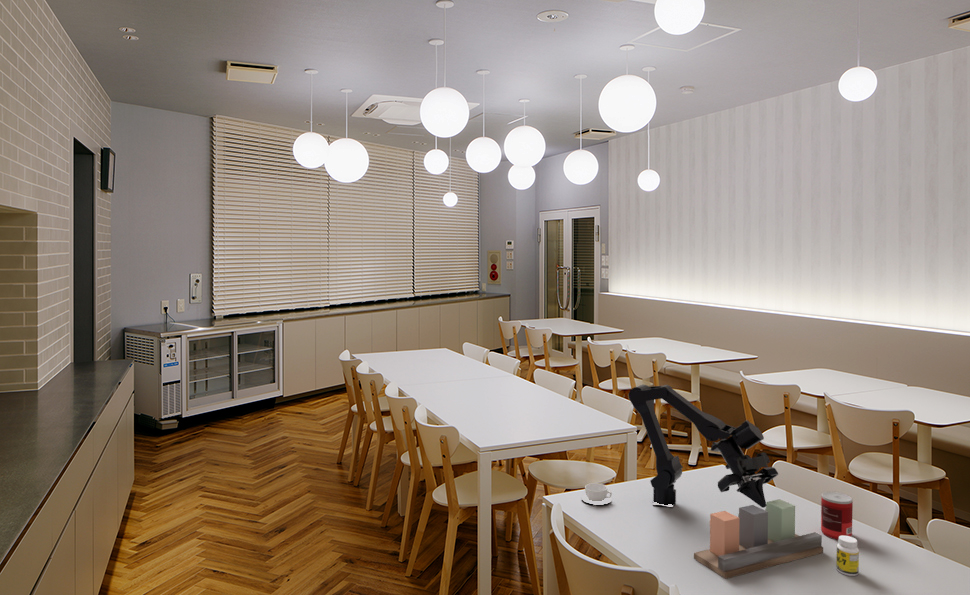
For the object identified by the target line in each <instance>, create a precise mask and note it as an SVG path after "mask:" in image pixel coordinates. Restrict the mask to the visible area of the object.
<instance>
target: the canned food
mask: <svg viewBox="0 0 970 595" xmlns="http://www.w3.org/2000/svg"><path fill="white" fill-rule="evenodd" d="M853 502H854V501H853V498H852V497H851V496H850V495H847V494H845V493H842V492H838V491H837V492H836V491H824V492H822V493H821V500H820V505H821V506H820V508H821V510H820V512H821V514H820V517H821V518H820V520H821V521H820V530H821V532H822V534H823V535H824V536H826V537H828V538H830V539H834V540H837V541H838V540H839V536H842V535H844V536H850V537H853V508H854V507H853Z"/></svg>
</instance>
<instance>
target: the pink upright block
mask: <svg viewBox="0 0 970 595" xmlns="http://www.w3.org/2000/svg"><path fill="white" fill-rule="evenodd" d="M709 549H710V551H711V552H712V553H714V554H716V555H718V556H721V555H725V554H729V553H733V552H737V551H739V517H738V516H736V515H734V514H732V513H730V512H728V511H726V510H722V511H717V512H713V513H710V514H709Z"/></svg>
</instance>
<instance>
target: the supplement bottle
mask: <svg viewBox="0 0 970 595" xmlns="http://www.w3.org/2000/svg"><path fill="white" fill-rule="evenodd" d="M837 541H838V543H837V545H836V556H835V558H836V564H835V566H836V570H837V571H838V573H840V574H843V575H845V576H848V577H854V576H855V577H856V576H858V575H859V572H860V571H859V565H860V562H859V560H860V559H859V558H860V550H859V548H858V540H857V539H856V538H854V537H853V536H851V537H850V536H844V535H842V536H839V540H838V539H837Z"/></svg>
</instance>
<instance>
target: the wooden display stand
mask: <svg viewBox="0 0 970 595" xmlns="http://www.w3.org/2000/svg"><path fill="white" fill-rule="evenodd" d="M822 537H823V536H822V534H820V533H818V532H809V533H805V534H802V535H798V534H797V533H795V537H794V538H789V539H785V540H781V541H777V542H774V541H772V540H770V539H768V544H765V545H761V546H757V547H753V548H749V549H747V548H745V547H743V546H741V545H739V551H737V552H733V553H729V554H725V555H721V556H718V555H716V554H714V553H712V552H711V551H710V548H709V549H705V550H699V551H696V552H693V559H694V560H695V559H696V560H695V561H697V562H698V563H700V564H702V565H703V566H704V567H706V568H708V569H710V570H711V571H713V572H714V573H716V574H718V575H719V576H721V577H722V578H724V579H725V580H726V579H729V578H733V577H737V576H741V575H744V574H748V573H752V572H755V571H759V570H763V569H767V568H772V567H774V566H778V565H781V564H784V563H785V564H786V563H789V562H794V561H796V560H800V559H803V558H808V557H811V556H816V555H819V554H822V553H824V547H823V545H822V542H823V541H822Z"/></svg>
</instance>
